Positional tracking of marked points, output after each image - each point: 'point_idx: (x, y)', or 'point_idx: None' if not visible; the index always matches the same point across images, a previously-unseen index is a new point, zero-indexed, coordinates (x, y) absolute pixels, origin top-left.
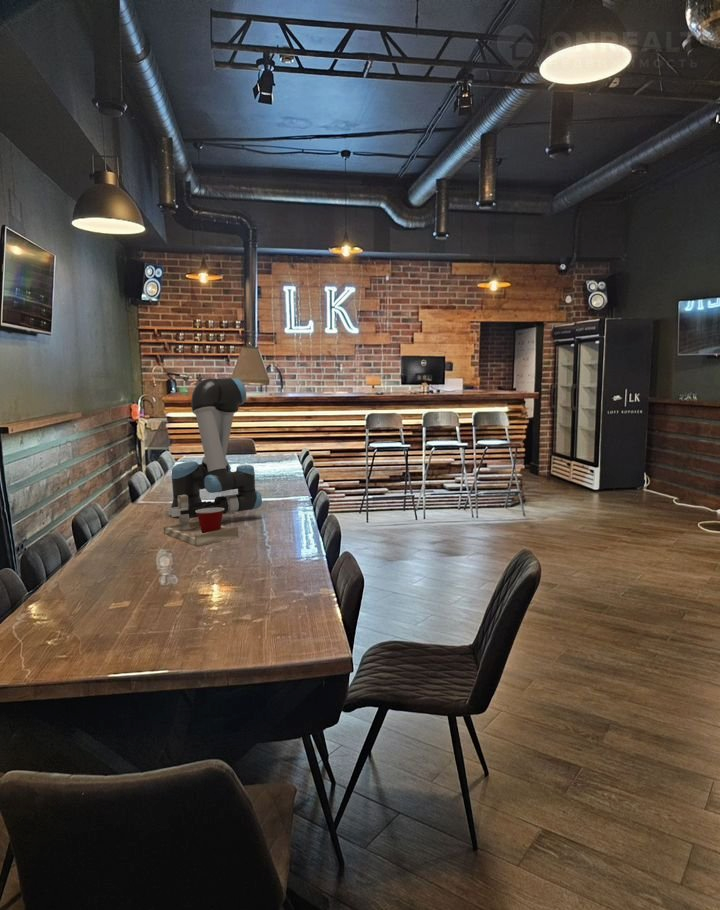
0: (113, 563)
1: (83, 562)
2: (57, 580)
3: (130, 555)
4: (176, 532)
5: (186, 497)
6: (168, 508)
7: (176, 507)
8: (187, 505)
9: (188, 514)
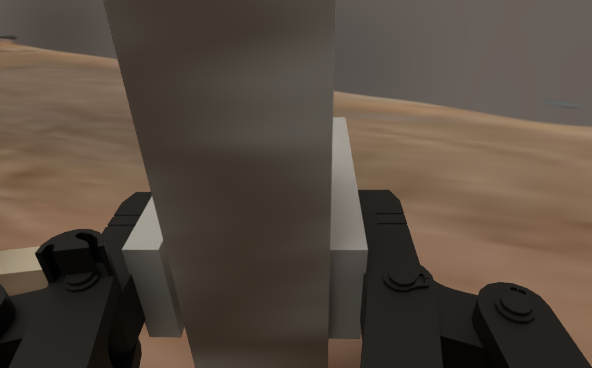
0: (14, 97)
1: (117, 71)
2: (39, 51)
3: (34, 123)
4: (21, 250)
5: (124, 34)
6: (333, 118)
7: (332, 167)
8: (167, 224)
9: (196, 360)
